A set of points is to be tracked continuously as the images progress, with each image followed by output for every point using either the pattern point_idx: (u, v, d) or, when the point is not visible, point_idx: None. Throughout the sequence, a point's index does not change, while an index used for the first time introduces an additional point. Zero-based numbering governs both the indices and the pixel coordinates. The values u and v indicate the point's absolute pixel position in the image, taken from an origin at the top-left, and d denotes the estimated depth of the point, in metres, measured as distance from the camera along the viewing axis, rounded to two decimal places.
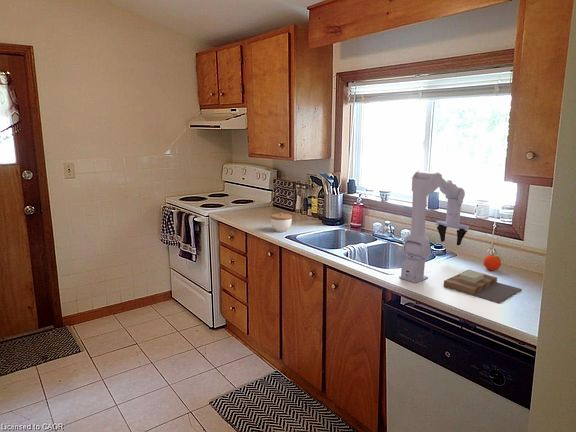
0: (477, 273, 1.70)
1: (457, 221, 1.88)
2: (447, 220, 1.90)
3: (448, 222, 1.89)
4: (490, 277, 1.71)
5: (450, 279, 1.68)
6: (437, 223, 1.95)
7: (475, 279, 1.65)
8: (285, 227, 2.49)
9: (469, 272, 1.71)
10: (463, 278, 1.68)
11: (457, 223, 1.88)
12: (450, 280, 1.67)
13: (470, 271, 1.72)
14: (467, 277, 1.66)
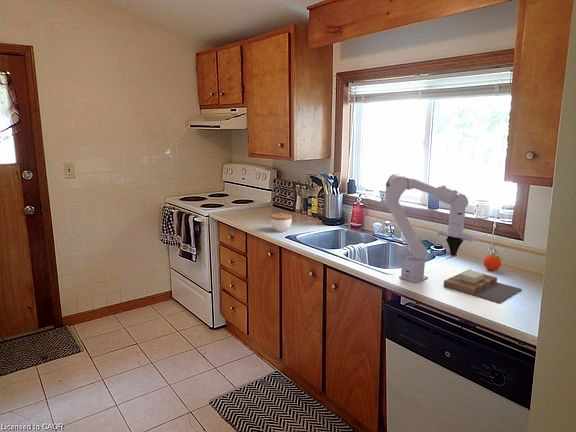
0: (477, 273, 1.70)
1: (461, 231, 1.69)
2: (449, 230, 1.71)
3: (451, 232, 1.71)
4: (490, 277, 1.71)
5: (450, 279, 1.68)
6: (438, 233, 1.77)
7: (475, 279, 1.65)
8: (285, 227, 2.49)
9: (469, 272, 1.71)
10: (463, 278, 1.68)
11: (461, 233, 1.70)
12: (450, 280, 1.67)
13: (470, 271, 1.72)
14: (467, 277, 1.66)
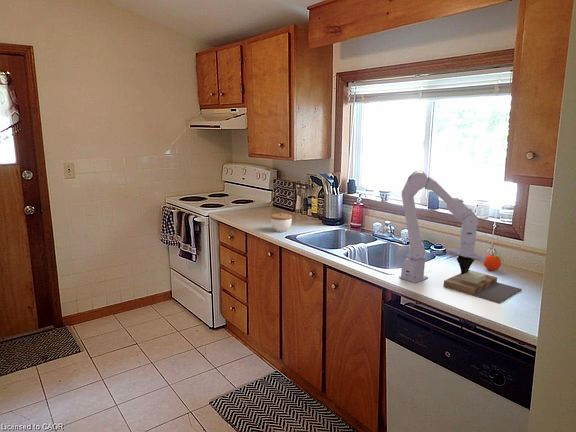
0: (479, 273, 1.69)
1: (472, 251, 1.67)
2: (460, 249, 1.69)
3: (462, 252, 1.68)
4: (490, 277, 1.71)
5: (450, 279, 1.68)
6: (449, 252, 1.74)
7: (477, 280, 1.64)
8: (285, 227, 2.49)
9: (471, 272, 1.70)
10: (465, 279, 1.67)
11: (472, 253, 1.67)
12: (450, 280, 1.67)
13: (472, 272, 1.71)
14: (469, 278, 1.66)
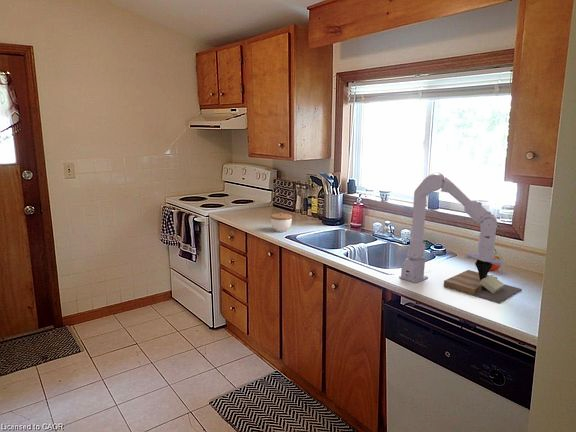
0: (498, 282, 1.64)
1: (491, 255, 1.62)
2: (479, 254, 1.63)
3: (480, 256, 1.63)
4: None
5: (450, 279, 1.68)
6: (466, 256, 1.69)
7: (495, 290, 1.60)
8: (285, 227, 2.49)
9: (491, 278, 1.65)
10: (483, 284, 1.62)
11: (491, 257, 1.62)
12: (450, 280, 1.67)
13: (492, 277, 1.66)
14: (488, 285, 1.61)
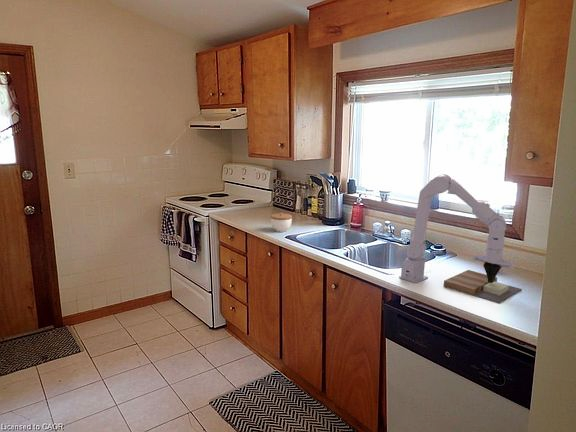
0: (501, 284, 1.63)
1: (500, 257, 1.59)
2: (487, 256, 1.61)
3: (489, 258, 1.60)
4: None
5: (450, 279, 1.68)
6: (474, 258, 1.66)
7: (500, 291, 1.58)
8: (285, 227, 2.49)
9: (493, 283, 1.64)
10: (487, 290, 1.61)
11: (500, 260, 1.59)
12: (450, 280, 1.67)
13: (494, 282, 1.65)
14: (492, 289, 1.60)
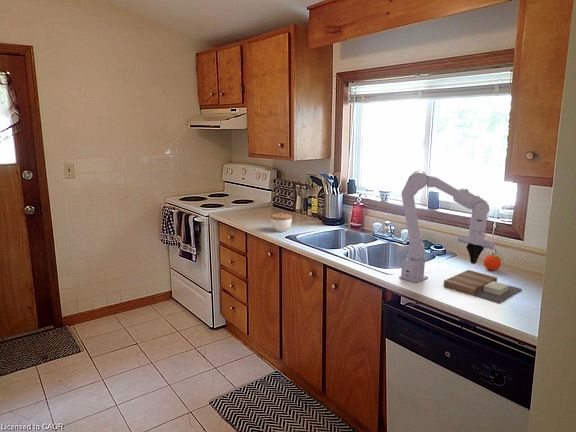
0: (501, 284, 1.63)
1: (482, 238, 1.64)
2: (470, 237, 1.66)
3: (471, 239, 1.66)
4: (490, 277, 1.71)
5: (450, 279, 1.68)
6: (458, 240, 1.72)
7: (500, 291, 1.58)
8: (285, 227, 2.49)
9: (493, 283, 1.64)
10: (487, 290, 1.61)
11: (482, 241, 1.65)
12: (450, 280, 1.67)
13: (494, 282, 1.65)
14: (492, 289, 1.60)
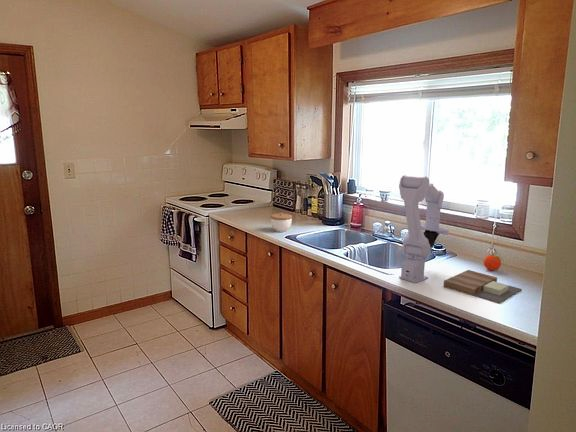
0: (501, 284, 1.63)
1: (436, 225, 1.83)
2: (426, 224, 1.85)
3: (427, 226, 1.84)
4: (490, 277, 1.71)
5: (450, 279, 1.68)
6: None
7: (500, 291, 1.58)
8: (285, 227, 2.49)
9: (493, 283, 1.64)
10: (487, 290, 1.61)
11: (436, 227, 1.83)
12: (450, 280, 1.67)
13: (494, 282, 1.65)
14: (492, 289, 1.60)
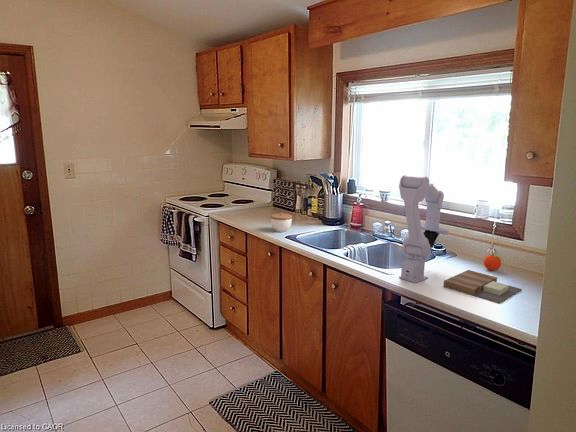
0: (501, 284, 1.63)
1: (436, 225, 1.83)
2: (426, 224, 1.85)
3: (427, 226, 1.84)
4: (490, 277, 1.71)
5: (450, 279, 1.68)
6: None
7: (500, 291, 1.58)
8: (285, 227, 2.49)
9: (493, 283, 1.64)
10: (487, 290, 1.61)
11: (436, 227, 1.83)
12: (450, 280, 1.67)
13: (494, 282, 1.65)
14: (492, 289, 1.60)
